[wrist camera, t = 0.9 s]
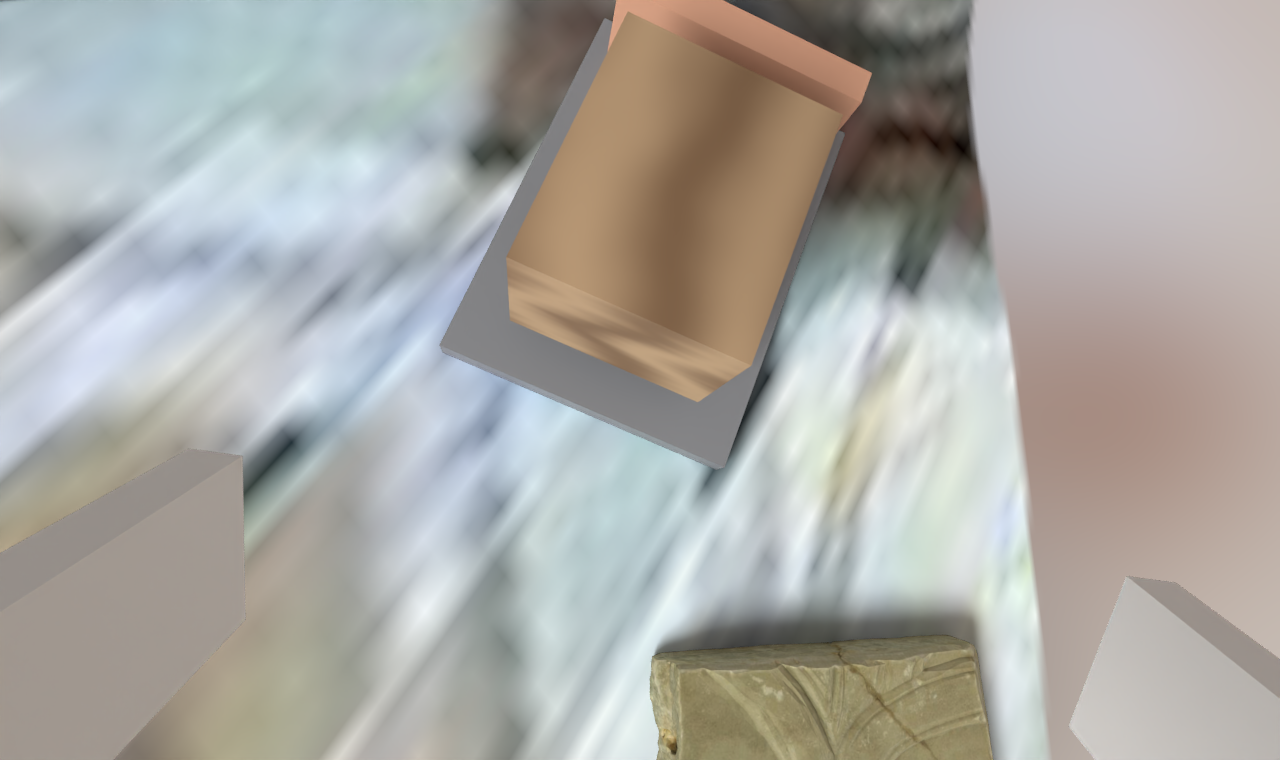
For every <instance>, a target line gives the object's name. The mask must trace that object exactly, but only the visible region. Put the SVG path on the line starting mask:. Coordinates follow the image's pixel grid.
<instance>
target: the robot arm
mask: <svg viewBox="0 0 1280 760" xmlns="http://www.w3.org/2000/svg"><path fill="white" fill-rule="evenodd" d="M245 620H246V612H245V562H244V511H243V460H242V456H240V455H233V454H225V453H218V452H211V451H203V450H196V449H187V450H185V451H184V452H182V453H180V454H178V455H176V456H175V457H173V458H171V459H169V460H167V461H166V462H164V463H162V464H160V465H158V466H157V467H155V468H153V469H151V470H149V471H148V472H146V473H144V474H142V475H140V476H139V477H137V478H135V479H133V480H131V481H129V482H128V483H126V484H124V485H122V486H120V487H119V488H117V489H115V490H113V491H111V492H110V493H108V494H106V495H104V496H102V497H101V498H99V499H97V500H95V501H93V502H92V503H90V504H88V505H86V506H84V507H82V508H81V509H79V510H77V511H75V512H73V513H72V514H70V515H68V516H66V517H64V518H63V519H61V520H59V521H57V522H55V523H54V524H52V525H50V526H48V527H46V528H45V529H43V530H41V531H39V532H37V533H36V534H34V535H32V536H30V537H28V538H26V539H25V540H23V541H21V542H19V543H17V544H16V545H14V546H12V547H10V548H8V549H7V550H5V551H3V552H1V553H0V760H113V759H114V758H115V757H116V756H117V755H118V754H119V753H120V752H121V751H122V750H123V748H124V747H125V746H126V745H127V744H128V743H129V742H130V741H131V740H132V739H133V738H134V737H135V736H136V735H137V734H138V733H139V732H140V731H141V729H142V728H143V727H144V726H145V725H146V724H147V723H148V722H149V721H150V720H151V719H152V718H153V717H154V716H155V715H156V714H157V713H158V712H159V710H160V709H161V708H162V707H163V706H164V705H165V704H166V703H167V702H168V701H169V700H170V699H171V698H172V697H173V696H174V695H175V694H176V693H177V692H178V690H179V689H180V688H181V687H182V686H183V685H184V684H185V683H186V682H187V681H188V680H189V679H190V678H191V677H192V676H193V675H194V674H195V673H196V671H197V670H198V669H199V668H200V667H201V666H202V665H203V664H204V663H205V662H206V661H207V660H208V659H209V658H210V657H211V656H212V655H213V654H214V652H215V651H216V650H217V649H218V648H219V647H220V646H221V645H222V644H223V643H224V642H225V641H226V640H227V639H228V638H229V637H230V636H231V635H232V633H233V632H234V631H235V630H236V629H237V628H238V627H239V626H240V625H241V624H242V623H243V622H244V621H245ZM1069 728H1070V729H1071V730H1072V731H1073V733H1074V734H1075V735H1076V736H1077V738H1078V739H1079V740H1080V741H1081V743H1082V744H1083V745H1084V746H1085V748H1086V749H1087V750H1088V752H1089V753H1090V754H1091V755H1092V757H1093V758H1094V759H1095V760H1280V659H1279V658H1277V657H1276V656H1275V655H1273V654H1272V653H1271V652H1269V651H1268V650H1267V649H1265V648H1264V647H1263V646H1261V645H1260V644H1258V643H1257V642H1256V641H1254V640H1253V639H1252V638H1250V637H1249V636H1248V635H1246V634H1245V633H1243V632H1242V631H1241V630H1240V629H1238V628H1237V627H1235V626H1234V625H1233V624H1231V623H1230V622H1229V621H1227V620H1226V619H1224V618H1223V617H1222V616H1221V615H1219V614H1218V613H1217V612H1215V611H1214V610H1212V609H1211V608H1210V607H1208V606H1207V605H1206V604H1204V603H1203V602H1202V601H1200V600H1199V599H1198V598H1196V597H1195V596H1193V595H1192V594H1191V593H1189V592H1188V591H1187V590H1185V589H1184V588H1183V587H1181V586H1180V585H1179V584H1177V583H1175V582H1167V581H1160V580H1153V579H1145V578H1138V577H1130V576H1126V578H1125V581H1124V583H1123V586H1122V589H1121V591H1120V594H1119V597H1118V599H1117V602H1116V605H1115V607H1114V610H1113V612H1112V615H1111V617H1110V620H1109V623H1108V625H1107V628H1106V630H1105V633H1104V636H1103V638H1102V641H1101V644H1100V646H1099V649H1098V652H1097V654H1096V657H1095V659H1094V662H1093V664H1092V667H1091V670H1090V672H1089V675H1088V677H1087V680H1086V683H1085V685H1084V688H1083V690H1082V693H1081V696H1080V698H1079V701H1078V703H1077V706H1076V709H1075V711H1074V714H1073V716H1072V719H1071V722H1070V725H1069Z"/></svg>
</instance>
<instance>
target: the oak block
mask: <svg viewBox="0 0 1280 760" xmlns="http://www.w3.org/2000/svg"><path fill="white" fill-rule="evenodd" d="M842 117H843V115H842V114H840V113H838V112H836V111H834V110H832V109H830V108H828V107H826V106H824V105H822V104H819V103H817V102H815V101H813V100H811V99H809V98H807V97H805V96H803V95H801V94H799V93H797V92H794V91H792V90H790V89H788V88H786V87H784V86H782V85H780V84H778V83H776V82H774V81H772V80H770V79H767V78H765V77H763V76H761V75H759V74H757V73H755V72H753V71H751V70H749V69H747V68H745V67H743V66H740V65H738V64H736V63H734V62H732V61H730V60H728V59H726V58H724V57H722V56H720V55H718V54H715V53H713V52H711V51H709V50H707V49H705V48H703V47H701V46H699V45H697V44H695V43H693V42H691V41H688V40H686V39H684V38H682V37H680V36H678V35H676V34H674V33H672V32H670V31H668V30H666V29H663V28H661V27H659V26H657V25H655V24H653V23H651V22H649V21H647V20H645V19H643V18H641V17H639V16H636V15H634V14H632V13H630V12H627V14H626V16H625V18H624V20H623V22H622V24H621V26H620V28H619V30H618V32H617V34H616V36H615V38H614V40H613V42H612V44H611V46H610V48H609V50H608V52H607V54H606V56H605V58H604V60H603V62H602V64H601V66H600V68H599V70H598V72H597V75H596V77H595V79H594V81H593V83H592V85H591V87H590V89H589V91H588V93H587V95H586V97H585V99H584V101H583V103H582V105H581V107H580V109H579V111H578V113H577V115H576V117H575V119H574V121H573V123H572V125H571V127H570V129H569V131H568V133H567V135H566V137H565V139H564V141H563V143H562V145H561V147H560V149H559V151H558V153H557V155H556V157H555V159H554V161H553V163H552V165H551V167H550V169H549V171H548V173H547V175H546V178H545V180H544V182H543V184H542V186H541V188H540V190H539V192H538V194H537V196H536V198H535V200H534V202H533V204H532V206H531V208H530V210H529V212H528V214H527V216H526V218H525V220H524V222H523V224H522V226H521V228H520V230H519V232H518V234H517V236H516V238H515V240H514V242H513V244H512V246H511V248H510V250H509V252H508V254H507V256H506V262H507V279H508V296H509V313H510V321H512V322H515V323H517V324H519V325H522V326H524V327H526V328H528V329H531V330H533V331H535V332H538V333H540V334H542V335H545V336H547V337H549V338H551V339H554V340H556V341H558V342H561V343H563V344H565V345H567V346H570V347H572V348H574V349H577V350H579V351H581V352H584V353H586V354H588V355H590V356H593V357H595V358H597V359H600V360H602V361H604V362H606V363H609V364H611V365H613V366H616V367H618V368H620V369H623V370H625V371H627V372H629V373H632V374H634V375H636V376H639V377H641V378H643V379H645V380H648V381H650V382H652V383H655V384H657V385H659V386H662V387H664V388H666V389H668V390H671V391H673V392H675V393H678V394H680V395H682V396H684V397H687V398H689V399H691V400H694V401H696V402H699V401H700V400H702V399H703V398H705V397H706V396H708V395H709V394H711V393H712V392H714V391H715V390H717V389H718V388H719V387H721V386H722V385H724V384H725V383H727V382H728V381H730V380H731V379H733V378H734V377H735V376H737V375H738V374H740V373H741V372H743V371H744V370H746V369H747V368H749V367H750V366H751V365H752V362H753V360H754V357H755V354H756V351H757V349H758V346H759V343H760V341H761V338H762V335H763V332H764V330H765V327H766V324H767V321H768V319H769V316H770V313H771V310H772V308H773V305H774V302H775V300H776V297H777V294H778V291H779V289H780V286H781V283H782V280H783V278H784V275H785V272H786V270H787V267H788V264H789V261H790V259H791V256H792V253H793V250H794V248H795V245H796V242H797V239H798V237H799V234H800V231H801V229H802V226H803V223H804V220H805V218H806V215H807V212H808V209H809V207H810V204H811V201H812V199H813V196H814V193H815V190H816V188H817V185H818V182H819V179H820V177H821V174H822V171H823V168H824V166H825V163H826V160H827V158H828V155H829V152H830V149H831V147H832V144H833V141H834V138H835V136H836V133H837V130H838V128H839V125H840V122H841V119H842Z"/></svg>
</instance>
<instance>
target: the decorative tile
mask: <svg viewBox="0 0 1280 760" xmlns="http://www.w3.org/2000/svg"><path fill="white" fill-rule="evenodd" d="M651 670H652V671H651V676H650V699H651V701H652V705H653V712H654V716H655V721H656V724H657V727H658V729H659V740H658V746H659V751H658V755H657V760H993V756H992V749H991V742H990V734H989V724H988V718H987V712H986V706H985V700H984V694H983V688H982V682H981V676H980V668H979V661H978V655H977V651H976V649H975V647H974V645H972V644H970V643H968V642H966V641H964V640H960V639H957V638H955V637H952V636H948V635H929V636H910V637H902V638H879V639H859V640H847V641H834V642H832V643H831V644H830V643H829V642H827V643H808V644H774V645H760V646H751V647H737V648H724V649H704V650H688V651H678V652H665V653H659V654H657V655H655V656H652V662H651Z"/></svg>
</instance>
